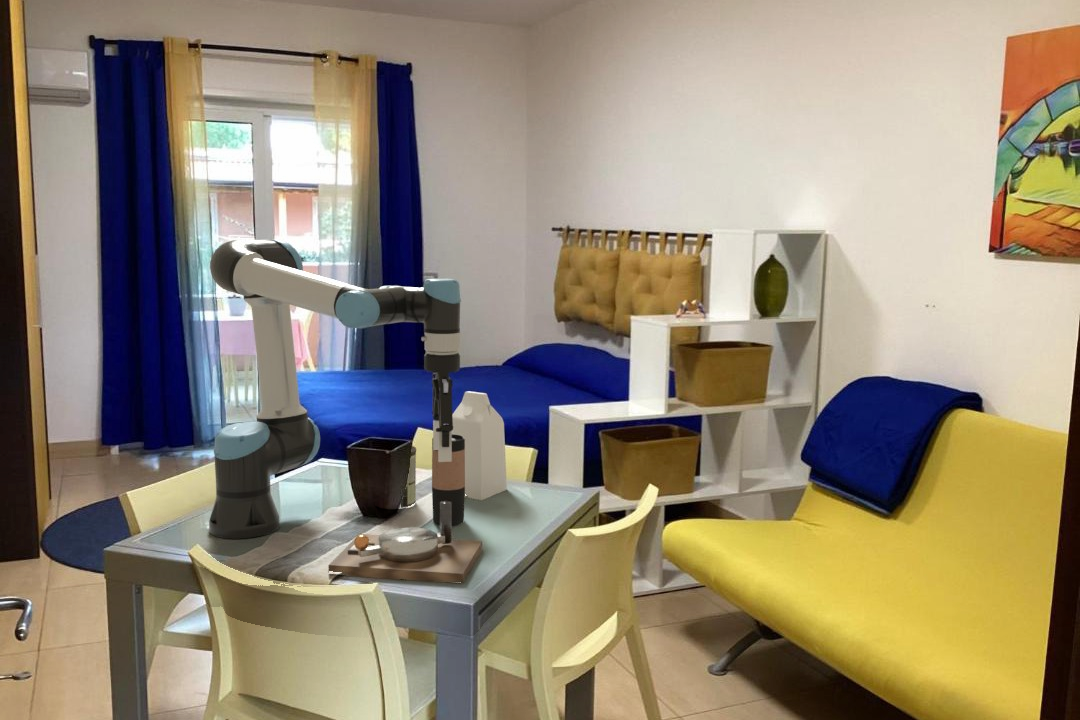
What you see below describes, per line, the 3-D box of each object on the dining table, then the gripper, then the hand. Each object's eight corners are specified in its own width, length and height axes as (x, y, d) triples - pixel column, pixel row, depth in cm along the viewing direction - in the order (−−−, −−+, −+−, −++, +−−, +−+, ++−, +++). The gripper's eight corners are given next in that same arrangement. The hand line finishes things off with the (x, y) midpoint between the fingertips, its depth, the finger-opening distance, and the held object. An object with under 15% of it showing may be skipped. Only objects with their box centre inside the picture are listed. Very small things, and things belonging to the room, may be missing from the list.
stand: (328, 574, 184) (328, 561, 183) (360, 542, 202) (359, 530, 202) (462, 583, 180) (462, 570, 180) (482, 550, 199) (482, 537, 198)
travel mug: (425, 523, 216) (425, 439, 213) (443, 514, 222) (443, 432, 220) (453, 528, 212) (453, 443, 209) (471, 519, 219) (471, 436, 216)
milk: (506, 489, 244) (507, 392, 241) (481, 500, 235) (481, 398, 231) (469, 482, 251) (470, 387, 247) (443, 492, 241) (443, 393, 237)
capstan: (366, 570, 180) (365, 525, 178) (344, 552, 190) (343, 509, 188) (464, 551, 191) (464, 509, 190) (438, 535, 201) (438, 494, 200)
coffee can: (390, 513, 223) (390, 455, 221) (366, 503, 230) (365, 448, 228) (425, 504, 230) (424, 449, 228) (400, 495, 237) (399, 441, 235)
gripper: (419, 345, 206) (419, 443, 210) (429, 360, 185) (429, 469, 188) (453, 345, 208) (453, 442, 211) (467, 359, 186) (466, 467, 190)
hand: (442, 455), depth 200 cm, fingers open, 10 cm apart
